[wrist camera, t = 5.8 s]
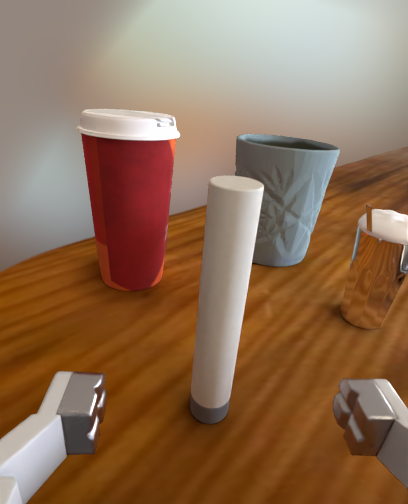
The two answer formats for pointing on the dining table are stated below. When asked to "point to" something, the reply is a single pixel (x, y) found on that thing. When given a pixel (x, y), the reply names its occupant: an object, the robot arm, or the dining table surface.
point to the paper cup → (129, 191)
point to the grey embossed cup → (285, 191)
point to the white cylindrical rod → (223, 291)
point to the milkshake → (375, 267)
